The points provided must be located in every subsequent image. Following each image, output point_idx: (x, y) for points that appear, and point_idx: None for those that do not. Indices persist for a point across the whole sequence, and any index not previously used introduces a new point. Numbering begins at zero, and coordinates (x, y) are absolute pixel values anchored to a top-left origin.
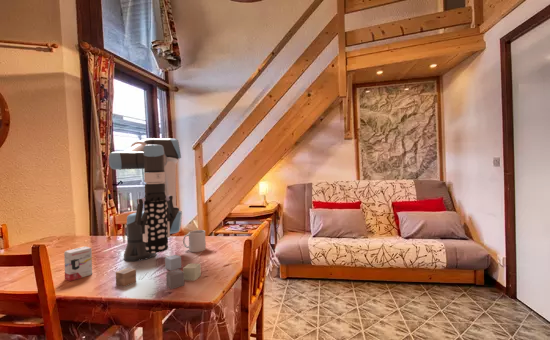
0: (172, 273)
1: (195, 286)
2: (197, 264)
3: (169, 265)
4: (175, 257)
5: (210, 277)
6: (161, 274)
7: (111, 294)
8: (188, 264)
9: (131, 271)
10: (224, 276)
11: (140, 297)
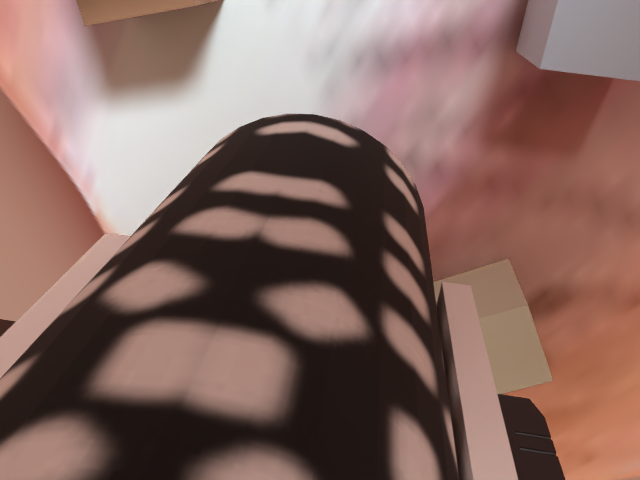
0: None
1: None
2: (532, 372)
3: (531, 31)
4: (621, 48)
5: (531, 394)
6: (419, 51)
7: (31, 66)
8: (504, 316)
9: (154, 12)
10: (577, 449)
11: None
